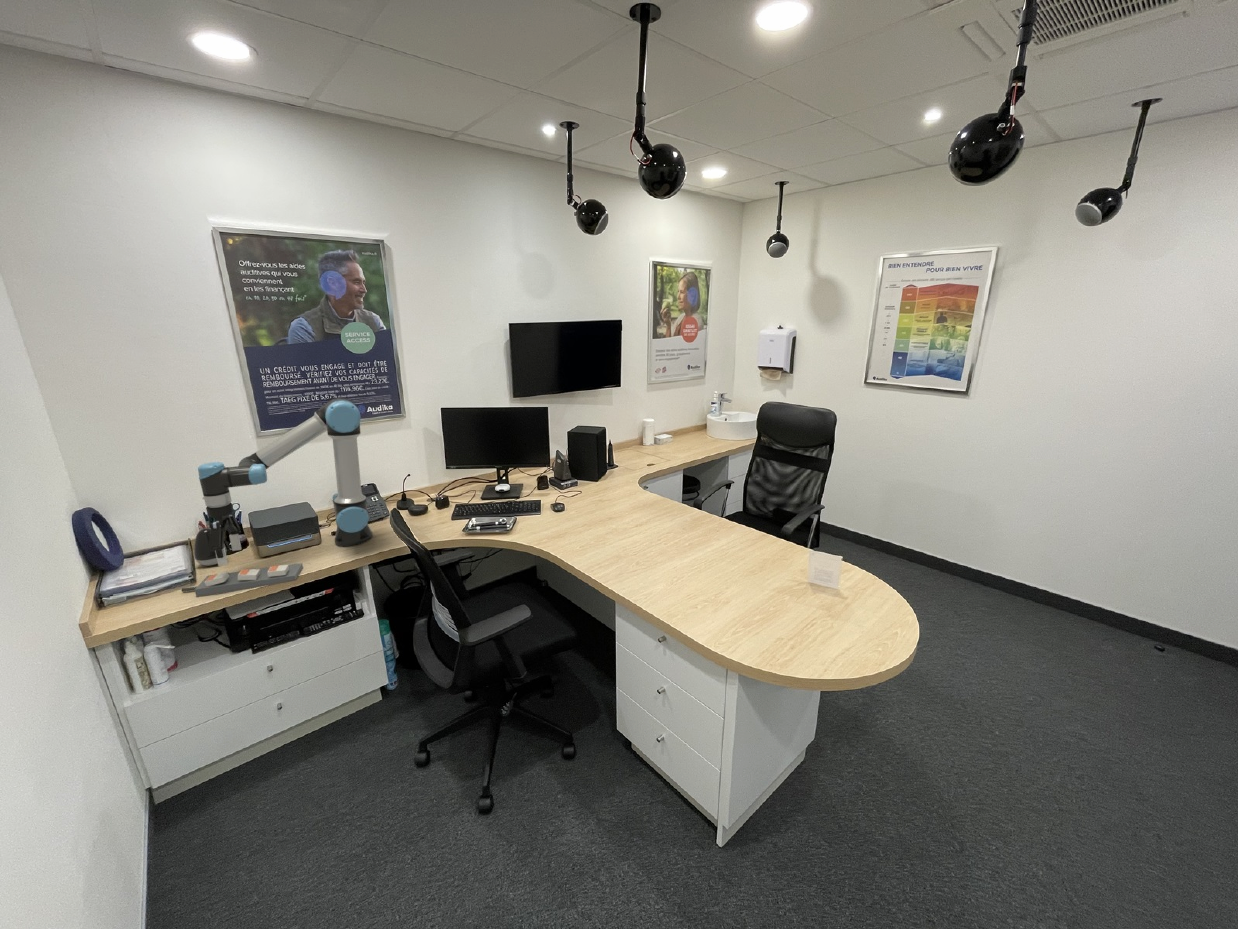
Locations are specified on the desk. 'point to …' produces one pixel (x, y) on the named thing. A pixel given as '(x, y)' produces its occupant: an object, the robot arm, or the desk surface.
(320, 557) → the desk surface
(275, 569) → the rocker
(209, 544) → the dark grey rounded dome
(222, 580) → the rocker
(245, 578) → the block
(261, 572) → the power strip
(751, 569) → the desk surface
